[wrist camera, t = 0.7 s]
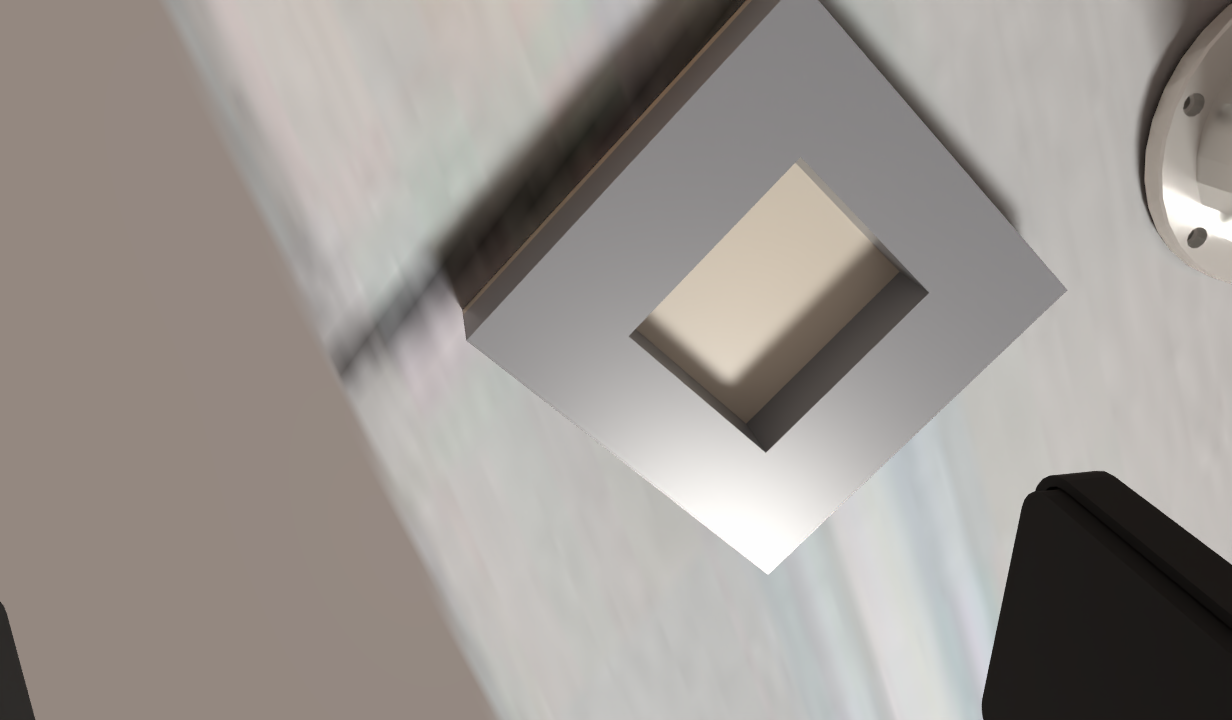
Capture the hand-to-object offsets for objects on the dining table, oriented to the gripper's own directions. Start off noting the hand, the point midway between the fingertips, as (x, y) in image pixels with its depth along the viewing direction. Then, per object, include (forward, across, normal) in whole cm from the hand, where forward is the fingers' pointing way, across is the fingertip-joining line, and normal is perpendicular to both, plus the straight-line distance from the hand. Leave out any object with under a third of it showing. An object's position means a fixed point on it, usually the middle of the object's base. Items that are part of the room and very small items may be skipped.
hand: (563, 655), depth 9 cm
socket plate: (+28, -12, +6) cm, 31 cm away
